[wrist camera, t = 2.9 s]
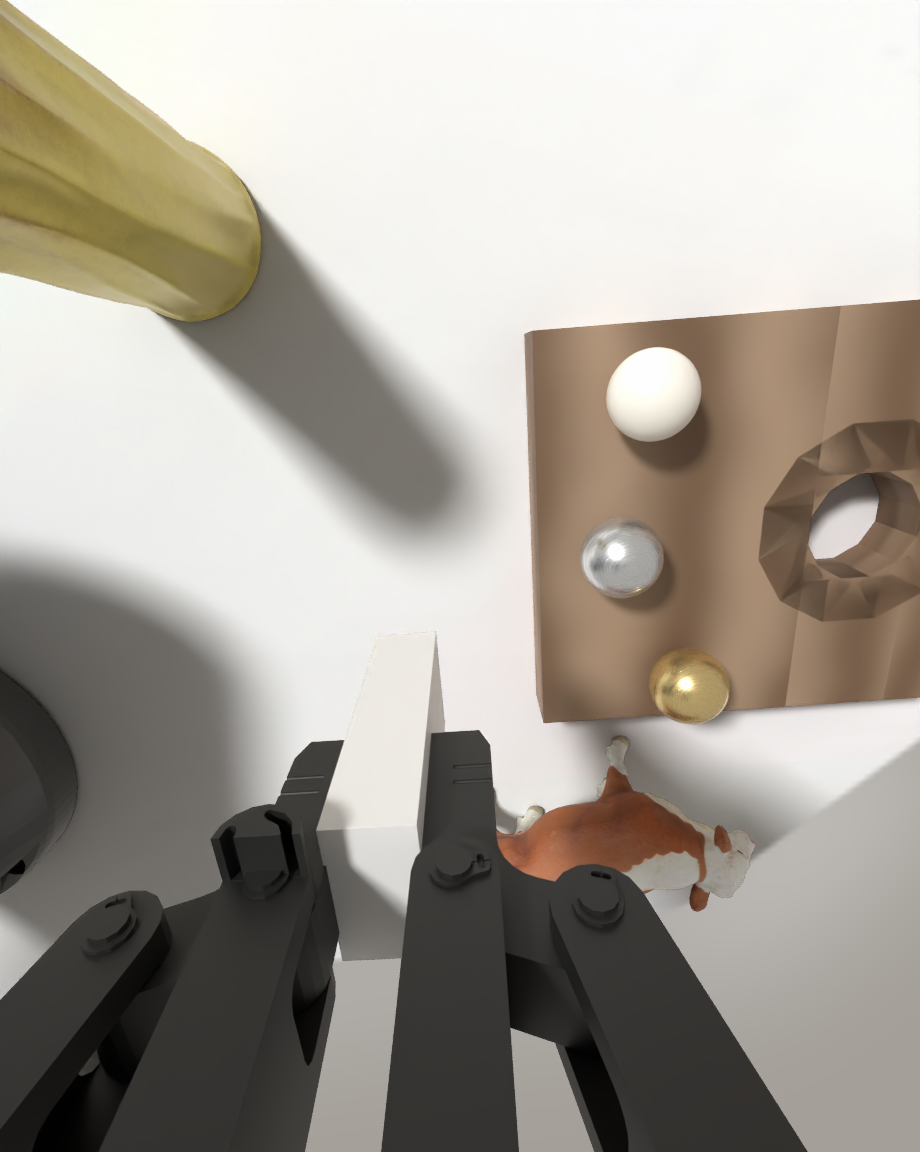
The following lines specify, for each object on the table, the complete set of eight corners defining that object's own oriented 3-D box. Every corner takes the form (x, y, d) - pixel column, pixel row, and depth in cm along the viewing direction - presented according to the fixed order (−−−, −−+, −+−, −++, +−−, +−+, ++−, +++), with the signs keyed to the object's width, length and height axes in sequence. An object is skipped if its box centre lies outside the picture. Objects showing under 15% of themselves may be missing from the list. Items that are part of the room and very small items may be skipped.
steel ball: (572, 583, 25) (588, 614, 22) (571, 510, 24) (588, 532, 21) (647, 578, 25) (674, 608, 22) (650, 505, 24) (678, 525, 21)
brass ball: (638, 700, 27) (661, 742, 24) (640, 637, 26) (665, 674, 23) (707, 695, 27) (739, 737, 24) (713, 632, 26) (747, 668, 23)
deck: (536, 694, 29) (543, 723, 27) (524, 334, 24) (532, 330, 21) (893, 669, 29) (931, 696, 27) (971, 298, 23) (1029, 290, 21)
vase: (69, 228, 22) (-520, 22, 9) (169, 98, 21) (-349, -385, 7) (195, 355, 24) (-141, 344, 10) (296, 241, 22) (58, 58, 9)
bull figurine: (705, 778, 31) (787, 911, 24) (470, 839, 33) (475, 985, 25) (691, 712, 30) (773, 832, 22) (445, 779, 31) (443, 915, 24)
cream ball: (596, 439, 23) (618, 451, 20) (597, 351, 21) (620, 349, 18) (678, 433, 23) (713, 443, 20) (683, 344, 21) (721, 342, 18)
